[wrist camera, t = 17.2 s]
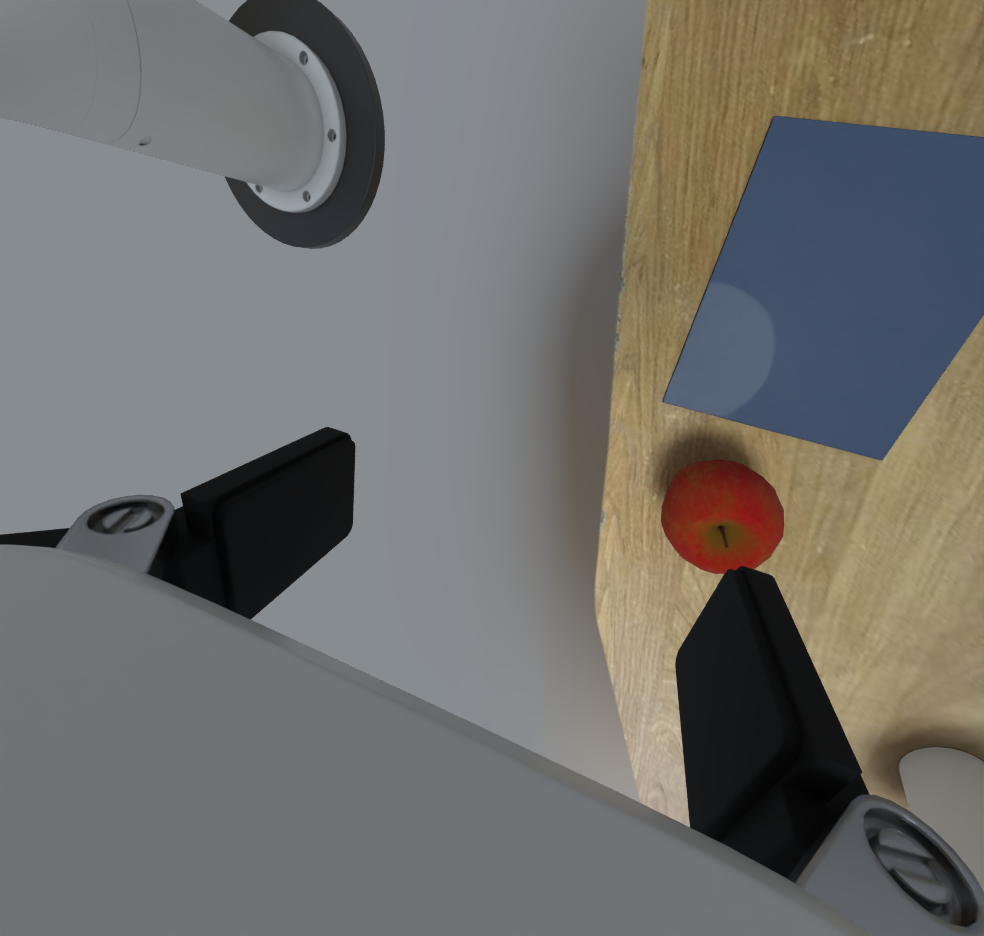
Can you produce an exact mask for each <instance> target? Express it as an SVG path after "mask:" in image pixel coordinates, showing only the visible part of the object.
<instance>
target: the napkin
mask: <svg viewBox="0 0 984 936" xmlns="http://www.w3.org/2000/svg"><path fill="white" fill-rule="evenodd" d="M983 315H984V137H975V136H965V135H955V134H946V133H936V132H926V131H917V130H907V129H897V128H888V127H878V126H868V125H859V124H849V123H839V122H829V121H820V120H810V119H800V118H791V117H781V116H774V117H773V120H772V122H771V125H770V127H769V130H768V133H767V135H766V138H765V140H764V143H763V145H762V148H761V150H760V153H759V156H758V158H757V161H756V163H755V166H754V168H753V171H752V174H751V176H750V179H749V181H748V184H747V186H746V189H745V191H744V194H743V197H742V199H741V202H740V204H739V207H738V209H737V212H736V214H735V217H734V220H733V222H732V225H731V227H730V230H729V232H728V235H727V237H726V240H725V243H724V245H723V248H722V250H721V253H720V255H719V258H718V260H717V263H716V266H715V268H714V271H713V273H712V276H711V278H710V281H709V284H708V286H707V289H706V291H705V294H704V296H703V299H702V301H701V304H700V307H699V309H698V312H697V314H696V317H695V319H694V322H693V324H692V327H691V330H690V332H689V335H688V337H687V340H686V342H685V345H684V347H683V350H682V353H681V355H680V358H679V360H678V363H677V365H676V368H675V371H674V373H673V376H672V378H671V381H670V383H669V386H668V388H667V391H666V394H665V396H664V399H663V402H665V403H668V404H672V405H676V406H680V407H683V408H687V409H691V410H695V411H698V412H702V413H706V414H710V415H713V416H717V417H721V418H725V419H728V420H732V421H736V422H740V423H743V424H747V425H751V426H755V427H758V428H762V429H766V430H770V431H773V432H777V433H781V434H785V435H788V436H792V437H796V438H800V439H803V440H807V441H811V442H815V443H818V444H822V445H826V446H829V447H833V448H837V449H841V450H844V451H848V452H852V453H856V454H859V455H863V456H867V457H871V458H874V459H878V460H883V459H884V457H885V456H886V454H887V453H888V451H889V450H890V449H891V447H892V446H893V444H894V443H895V441H896V440H897V439H898V437H899V436H900V434H901V433H902V431H903V430H904V428H905V427H906V426H907V424H908V423H909V421H910V420H911V418H912V417H913V416H914V414H915V413H916V411H917V410H918V408H919V407H920V406H921V404H922V403H923V401H924V400H925V398H926V397H927V395H928V394H929V393H930V391H931V390H932V388H933V387H934V385H935V384H936V383H937V381H938V380H939V378H940V377H941V375H942V374H943V372H944V371H945V370H946V368H947V367H948V365H949V364H950V362H951V361H952V360H953V358H954V357H955V355H956V354H957V352H958V351H959V350H960V348H961V347H962V345H963V344H964V342H965V341H966V339H967V338H968V337H969V335H970V334H971V332H972V331H973V329H974V328H975V327H976V325H977V324H978V322H979V321H980V319H981V318H982V317H983Z"/></svg>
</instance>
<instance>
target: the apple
mask: <svg viewBox="0 0 984 936" xmlns="http://www.w3.org/2000/svg"><path fill="white" fill-rule="evenodd" d="M661 522H662V527H663V529H664V532H665V535H666V537H667V538H668V540H669V541H670V543H671V544H672V546H673V547H674V549H675V550H676V551H677V552H678V553H679V555H680V556H681V557H682V558H683V559H685V560H687V561H688V562H690V563H691V564H693V565H695V566H696V567H698V568H700V569H701V570H704V571H708V572H711V573H714V574H725V573H726V571H727V570H729V569H733V570H736V569H737V568H739V567H740V566H745V567H748V568H751V569H755V568H757V567H758V566H759V565H761V564H762V563H763V562H764V561H766V560H767V559H768V558H770V557H771V555H772V553H773V552H774V550H775V549H776V547H777V545H778V544H779V542H780V541H781V539H782V537H783V531H784V509H783V507H782V505H781V503H780V501H779V499H778V496H777V494H776V491H775V489H774V488H773V487H772V486H771V485H770V484H769V483H768V482H767V481H766V480H765V479H764V477H762V476H761V475H759V474H758V473H756V472H754V471H753V470H751V469H750V468H748V467H746V466H745V465H743V464H740V463H736V462H733V461H723V460H712V461H703V462H697V463H694V464H691V465H688V466H686V467H685V468H683V469H682V470H680V471H679V472H678V473H677V475H676V476H675V477H674V478H673V480H672V481H671V483H670V485H669V487H668V490H667V493H666V496H665V499H664V502H663V505H662V515H661Z"/></svg>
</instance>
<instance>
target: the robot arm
mask: <svg viewBox="0 0 984 936" xmlns="http://www.w3.org/2000/svg"><path fill="white" fill-rule="evenodd" d="M0 118H5V119H10V120H14V121H19V122H23V123H27V124H31V125H35V126H39V127H43V128H47V129H51V130H55V131H59V132H62V133H66V134H70V135H74V136H78V137H82V138H85V139H89V140H93V141H97V142H100V143H103V144H107V145H111V146H115V147H118V148H122V149H126V150H130V151H133V152H137V153H140V154H144V155H148V156H152V157H156V158H159V159H163V160H167V161H171V162H174V163H178V164H181V165H186V166H189V167H193V168H196V169H200V170H204V171H207V172H211V173H215V174H219V175H223V176H226V177H230V178H233V179H237V180H241V181H245V182H246V183H247V184H248V185H249V186H250V188H251V189H252V190H253V192H254V193H255V194H256V195H257V196H258V197H260V198H261V199H262V200H263V201H264V202H265V203H267V204H269V205H270V206H272V207H274V208H276V209H279V210H282V211H286V212H292V213H305V212H308V211H311V210H314V209H316V208H317V207H318V206H320V205H321V204H323V203H324V202H325V201H326V200H327V198H328V197H329V196H330V195H331V194H332V192H333V190H334V188H335V187H336V185H337V183H338V181H339V178H340V175H341V172H342V169H343V165H344V159H345V154H346V137H347V135H346V123H345V115H344V110H343V105H342V101H341V98H340V95H339V92H338V89H337V86H336V83H335V82H334V80H333V78H332V76H331V74H330V72H329V70H328V68H327V67H326V65H325V64H324V63H323V61H322V60H321V59H320V57H319V56H318V55H317V54H316V53H315V52H314V51H313V50H312V49H311V48H309V47H308V46H307V45H306V44H304V43H303V42H301V41H300V40H298V39H297V38H296V37H294V36H292V35H289V34H287V33H284V32H280V31H267V32H263V33H259V34H258V35H256V36H254V37H252V36H251V35H249V34H247V33H246V32H244V31H243V30H241V29H240V28H238V27H237V26H235V25H233V24H232V23H230V22H229V21H227V20H226V19H224V18H222V17H221V16H219V15H218V14H216V13H215V12H213V11H211V10H210V9H208V8H207V7H205V6H204V5H202V4H201V3H199V2H197V1H196V0H0ZM354 471H355V443H354V442H353V441H352V440H351V437H350V435H349V434H348V433H345V432H342V431H339V430H336V429H333V428H329V427H325V428H323V429H321V430H318V431H316V432H314V433H312V434H310V435H307V436H305V437H303V438H301V439H299V440H297V441H295V442H292V443H290V444H288V445H286V446H283V447H281V448H279V449H277V450H275V451H273V452H270V453H268V454H266V455H264V456H262V457H259V458H257V459H255V460H253V461H251V462H249V463H246V464H244V465H242V466H240V467H238V468H235V469H233V470H231V471H229V472H227V473H225V474H222V475H220V476H218V477H216V478H214V479H211V480H209V481H207V482H205V483H203V484H201V485H198V486H196V487H194V488H192V489H190V490H187V491H185V492H183V493H181V498H182V503H183V506H182V507H180V508H178V509H176V510H175V509H174V506H173V505H172V504H171V502H170V501H168V500H166V499H165V498H162V497H157V496H153V495H135V496H125V497H120V498H116V499H112V500H108V501H106V502H103V503H100V504H98V505H95V506H94V507H92V508H90V509H88V510H86V511H85V512H84V513H83V514H82V515H80V516H79V517H78V518H77V520H76V521H75V522H74V524H73V525H72V526H71V528H66V529H55V530H45V531H36V532H24V533H14V534H4V535H0V936H984V891H983V889H982V887H981V886H980V884H979V882H978V881H977V879H976V878H975V876H974V874H973V873H972V871H971V870H970V869H969V868H968V867H967V865H966V864H965V863H964V862H963V860H962V859H961V858H960V857H959V856H958V854H957V853H956V852H955V851H954V849H953V848H952V847H951V846H950V845H949V844H948V843H947V842H945V841H944V840H943V839H942V838H941V837H940V836H939V835H938V834H937V833H936V832H935V831H934V830H933V829H932V828H931V827H930V826H928V825H927V824H926V823H924V822H923V821H922V820H921V819H919V818H918V817H917V816H915V815H914V814H913V813H912V812H910V811H908V810H907V809H905V808H903V807H901V806H900V805H898V804H896V803H894V802H893V801H891V800H888V799H885V798H882V797H879V796H876V795H869V792H868V790H867V788H866V786H865V783H864V781H863V779H862V777H861V775H860V774H861V773H862V771H861V768H860V766H859V764H858V762H857V760H856V757H855V755H854V753H853V751H852V749H851V746H850V744H849V742H848V740H847V738H846V735H845V733H844V731H843V729H842V726H841V724H840V722H839V720H838V718H837V715H836V713H835V711H834V709H833V707H832V704H831V702H830V700H829V698H828V696H827V693H826V691H825V689H824V687H823V685H822V682H821V680H820V678H819V676H818V674H817V671H816V669H815V667H814V665H813V663H812V660H811V658H810V656H809V654H808V652H807V649H806V647H805V645H804V643H803V641H802V638H801V636H800V634H799V632H798V629H797V627H796V625H795V623H794V621H793V618H792V616H791V614H790V612H789V610H788V607H787V605H786V603H785V601H784V599H783V596H782V594H781V592H780V590H779V588H778V585H777V583H776V581H775V579H774V578H773V576H771V575H769V574H766V573H763V572H760V571H757V570H754V569H751V568H748V567H745V566H740V567H739V568H737V569H736V570H733V569H729V570H727V571H726V573H725V574H724V576H723V577H722V579H721V581H720V582H719V584H718V586H717V587H716V589H715V591H714V592H713V594H712V596H711V597H710V599H709V601H708V602H707V604H706V606H705V607H704V609H703V611H702V612H701V614H700V616H699V617H698V619H697V621H696V622H695V624H694V626H693V627H692V629H691V631H690V632H689V634H688V636H687V637H686V639H685V641H684V642H683V644H682V646H681V647H680V649H679V651H678V654H677V657H676V663H675V666H676V678H677V689H678V700H679V711H680V722H681V733H682V744H683V755H684V765H685V776H686V787H687V798H688V809H689V820H690V827H688V826H686V825H684V824H682V823H680V822H678V821H676V820H674V819H672V818H669V817H667V816H665V815H663V814H661V813H659V812H657V811H655V810H653V809H651V808H649V807H647V806H645V805H643V804H641V803H639V802H637V801H635V800H633V799H631V798H629V797H627V796H625V795H623V794H621V793H619V792H617V791H614V790H612V789H610V788H608V787H606V786H604V785H602V784H600V783H598V782H596V781H594V780H591V779H589V778H587V777H585V776H583V775H581V774H579V773H576V772H574V771H572V770H570V769H568V768H566V767H564V766H562V765H560V764H558V763H555V762H553V761H551V760H549V759H547V758H545V757H543V756H541V755H539V754H537V753H534V752H532V751H530V750H528V749H526V748H524V747H522V746H520V745H518V744H516V743H513V742H511V741H509V740H507V739H505V738H503V737H501V736H499V735H496V734H494V733H492V732H490V731H488V730H486V729H484V728H482V727H480V726H477V725H476V724H473V723H471V722H469V721H467V720H465V719H463V718H460V717H458V716H456V715H454V714H452V713H450V712H448V711H446V710H444V709H441V708H439V707H437V706H435V705H433V704H431V703H428V702H426V701H424V700H422V699H420V698H418V697H416V696H414V695H411V694H409V693H407V692H405V691H403V690H401V689H399V688H396V687H394V686H392V685H390V684H388V683H386V682H384V681H382V680H379V679H377V678H375V677H373V676H371V675H369V674H367V673H364V672H362V671H360V670H358V669H356V668H354V667H352V666H349V665H347V664H345V663H343V662H341V661H339V660H337V659H334V658H332V657H330V656H328V655H326V654H324V653H322V652H319V651H317V650H315V649H313V648H311V647H308V646H306V645H304V644H302V643H300V642H298V641H296V640H293V639H291V638H289V637H287V636H285V635H283V634H280V633H278V632H276V631H274V630H272V629H269V628H267V627H265V626H263V625H261V624H259V623H256V622H254V621H252V620H250V619H252V618H253V617H254V616H255V615H256V614H257V613H259V612H260V611H261V610H262V609H263V608H264V607H266V606H267V605H268V604H269V603H270V602H271V601H273V600H274V599H275V598H276V597H277V596H278V595H279V594H281V593H282V592H283V591H284V590H285V589H286V588H288V587H289V586H290V585H291V584H292V583H293V582H294V581H296V580H297V579H298V578H299V577H300V576H302V575H303V574H304V573H305V572H306V571H307V570H308V569H310V568H311V567H312V566H313V565H314V564H315V563H317V562H318V561H319V560H320V559H321V558H322V557H324V556H325V555H326V554H327V553H328V552H329V551H330V550H332V549H333V547H335V546H336V545H337V544H339V543H340V542H341V541H342V540H343V539H344V538H346V536H348V534H349V533H350V531H351V529H352V525H353V502H354Z"/></svg>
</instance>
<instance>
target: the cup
mask: <svg viewBox="0 0 984 936" xmlns="http://www.w3.org/2000/svg"><path fill="white" fill-rule="evenodd" d="M899 772H900V776H901V780H902V784H903V788H904V791H905V795H906V799H907V803H908V807H909V810H910V812H912V813H913V814H914V815H915V816H917V817H918V818H919V819H921V820H922V821H923V822H924V823H926V824H927V825H928V826H930V827H931V828H932V829H933V830H934V831H935V832H936V833H937V834H938V835H939V836H940V837H941V838H942V839H943V840H944V841H945V842H947V843H948V844H949V845H950V846H951V847H952V848H953V849H954V851H955V852H956V853H957V854H958V856H959V857H960V858H961V859H962V860H963V862H964V863H965V864H966V865H967V867H968V868H969V869H970V870H971V871H972V873H973V874H974V876H975V878H976V879H977V881H978V882H979V884H980V886H981V887H982V889H983V891H984V762H983V761H982V760H980V759H978V758H977V757H975V756H973V755H971V754H968V753H966V752H963V751H960V750H955V749H951V748H942V747H930V748H922V749H918V750H914V751H912V752H910V753H908V754H906V755H905V756H904V757H903V758H902V759H901V760H900V763H899Z"/></svg>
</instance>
